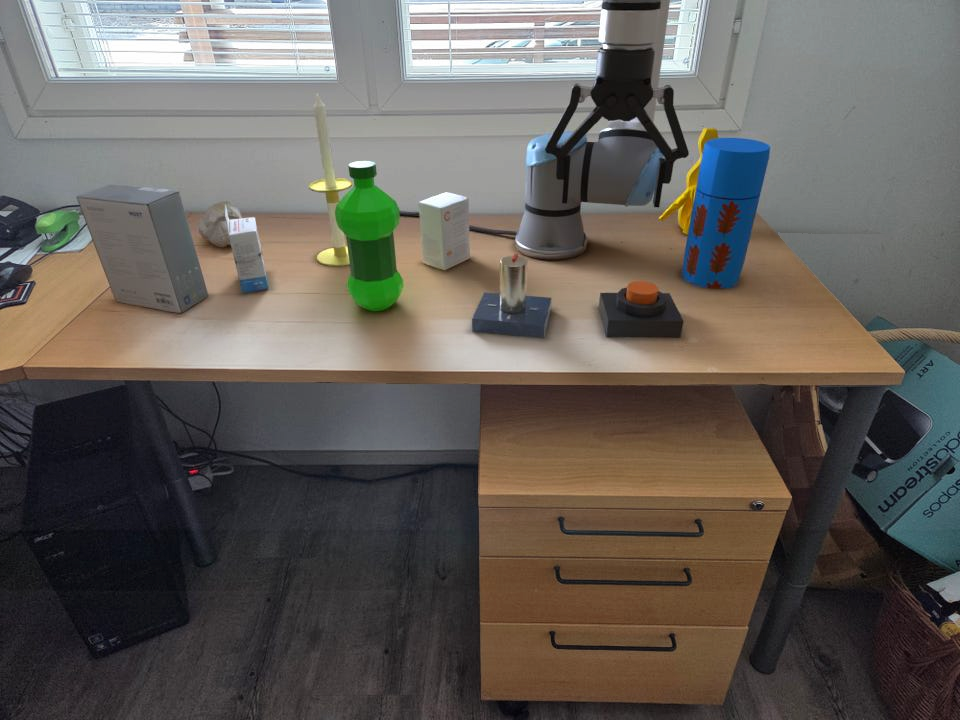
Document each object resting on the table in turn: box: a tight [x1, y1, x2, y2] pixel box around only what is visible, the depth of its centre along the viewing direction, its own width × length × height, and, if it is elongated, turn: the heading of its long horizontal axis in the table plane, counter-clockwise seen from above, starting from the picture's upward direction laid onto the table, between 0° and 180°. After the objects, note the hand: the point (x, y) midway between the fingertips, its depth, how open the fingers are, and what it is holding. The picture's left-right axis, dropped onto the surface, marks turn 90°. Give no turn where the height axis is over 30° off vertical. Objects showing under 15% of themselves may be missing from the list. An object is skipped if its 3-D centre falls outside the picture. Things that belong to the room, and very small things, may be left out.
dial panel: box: [471, 291, 552, 339], centre depth 105 cm, size 12×10×3 cm
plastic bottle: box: [335, 160, 404, 312], centre depth 104 cm, size 10×10×25 cm
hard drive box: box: [76, 184, 209, 314], centre depth 108 cm, size 16×8×20 cm, turn 71°
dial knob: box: [499, 253, 528, 313], centre depth 101 cm, size 4×4×9 cm
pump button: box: [626, 280, 660, 304], centre depth 101 cm, size 5×5×2 cm
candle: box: [308, 90, 353, 267], centre depth 121 cm, size 10×10×32 cm
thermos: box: [681, 137, 771, 290], centre depth 112 cm, size 11×11×25 cm
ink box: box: [225, 205, 269, 294], centre depth 115 cm, size 8×5×15 cm, turn 20°
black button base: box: [598, 286, 685, 339], centre depth 103 cm, size 12×10×5 cm
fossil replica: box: [198, 200, 243, 248], centre depth 135 cm, size 12×8×10 cm
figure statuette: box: [658, 127, 719, 236], centre depth 134 cm, size 18×8×22 cm, turn 86°
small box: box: [418, 191, 471, 271], centre depth 123 cm, size 8×6×13 cm
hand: (609, 202), depth 93 cm, fingers open, 13 cm apart
